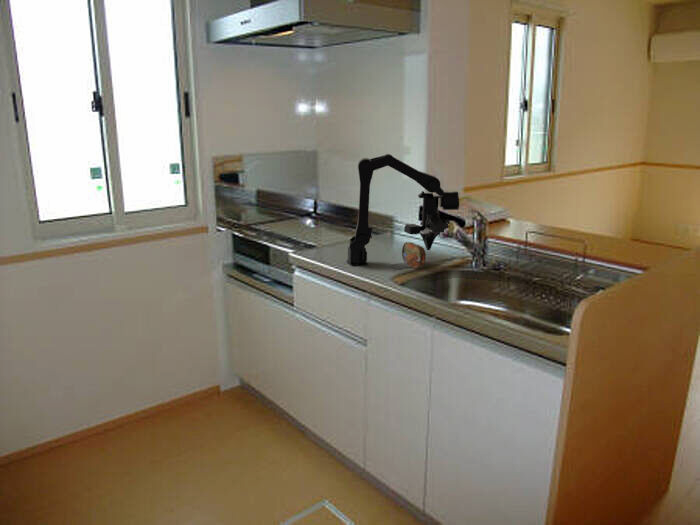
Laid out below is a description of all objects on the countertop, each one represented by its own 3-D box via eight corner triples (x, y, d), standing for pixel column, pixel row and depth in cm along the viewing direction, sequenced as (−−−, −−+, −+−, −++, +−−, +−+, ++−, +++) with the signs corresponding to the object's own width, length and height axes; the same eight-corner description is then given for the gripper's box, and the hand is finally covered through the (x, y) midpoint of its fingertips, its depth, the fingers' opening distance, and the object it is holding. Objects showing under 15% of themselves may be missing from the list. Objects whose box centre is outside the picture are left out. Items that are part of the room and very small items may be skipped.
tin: (401, 260, 214) (401, 240, 212) (408, 260, 215) (409, 239, 213) (418, 271, 200) (419, 248, 198) (426, 270, 201) (427, 248, 199)
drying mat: (396, 269, 202) (396, 268, 202) (389, 265, 207) (389, 264, 207) (412, 267, 204) (412, 266, 204) (404, 263, 210) (405, 262, 210)
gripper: (418, 214, 194) (416, 257, 198) (463, 212, 200) (460, 253, 204) (404, 209, 204) (402, 250, 208) (447, 207, 210) (445, 246, 214)
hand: (428, 250), depth 208 cm, fingers closed
